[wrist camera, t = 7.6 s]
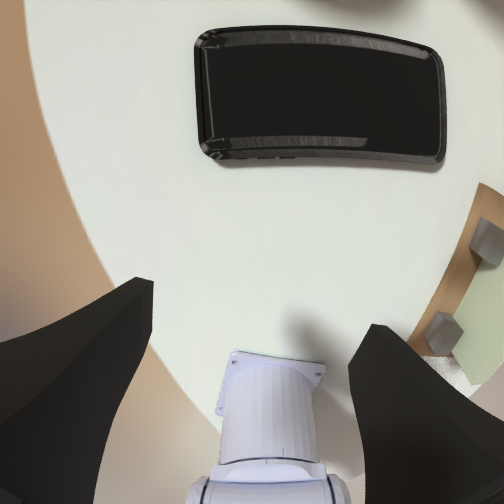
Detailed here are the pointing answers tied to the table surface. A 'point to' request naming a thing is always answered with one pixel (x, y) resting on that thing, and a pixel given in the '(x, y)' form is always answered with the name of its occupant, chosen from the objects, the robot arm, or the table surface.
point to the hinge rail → (461, 274)
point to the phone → (318, 95)
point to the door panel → (482, 324)
